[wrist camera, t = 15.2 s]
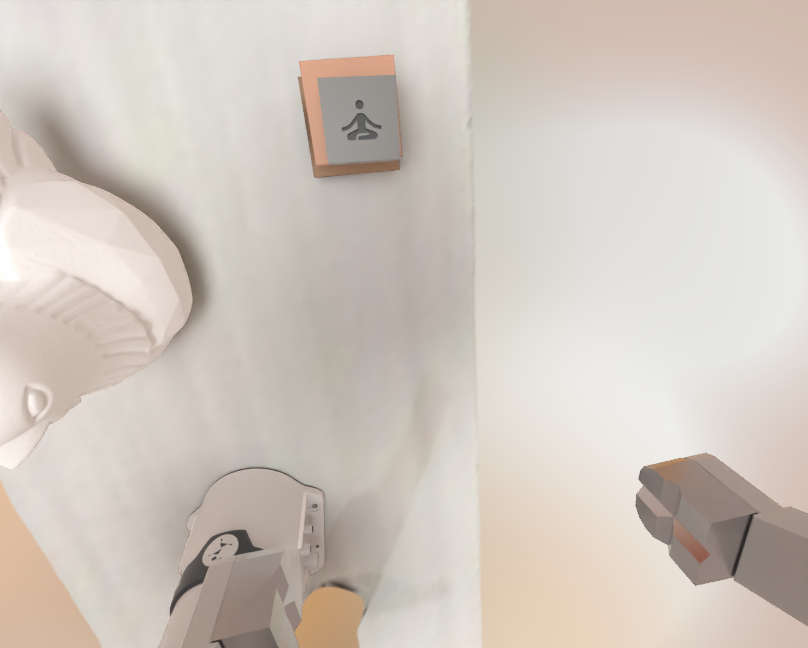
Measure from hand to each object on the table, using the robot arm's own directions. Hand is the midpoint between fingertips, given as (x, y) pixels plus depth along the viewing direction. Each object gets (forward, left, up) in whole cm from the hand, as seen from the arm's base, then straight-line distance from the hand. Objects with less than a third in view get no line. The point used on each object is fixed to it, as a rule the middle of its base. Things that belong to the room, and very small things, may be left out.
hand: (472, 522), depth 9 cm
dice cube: (+11, 0, -28) cm, 30 cm away
